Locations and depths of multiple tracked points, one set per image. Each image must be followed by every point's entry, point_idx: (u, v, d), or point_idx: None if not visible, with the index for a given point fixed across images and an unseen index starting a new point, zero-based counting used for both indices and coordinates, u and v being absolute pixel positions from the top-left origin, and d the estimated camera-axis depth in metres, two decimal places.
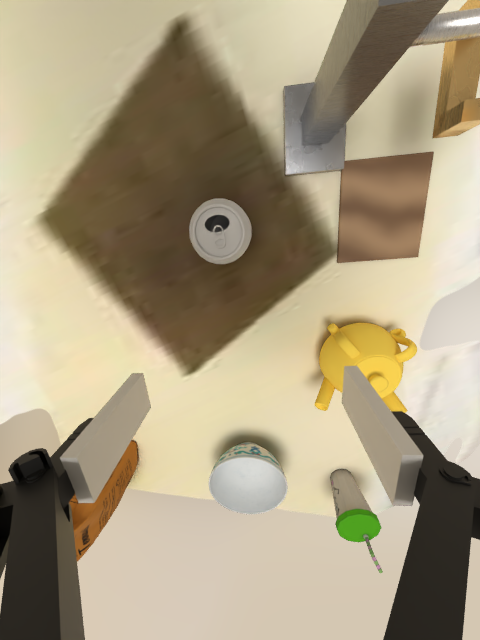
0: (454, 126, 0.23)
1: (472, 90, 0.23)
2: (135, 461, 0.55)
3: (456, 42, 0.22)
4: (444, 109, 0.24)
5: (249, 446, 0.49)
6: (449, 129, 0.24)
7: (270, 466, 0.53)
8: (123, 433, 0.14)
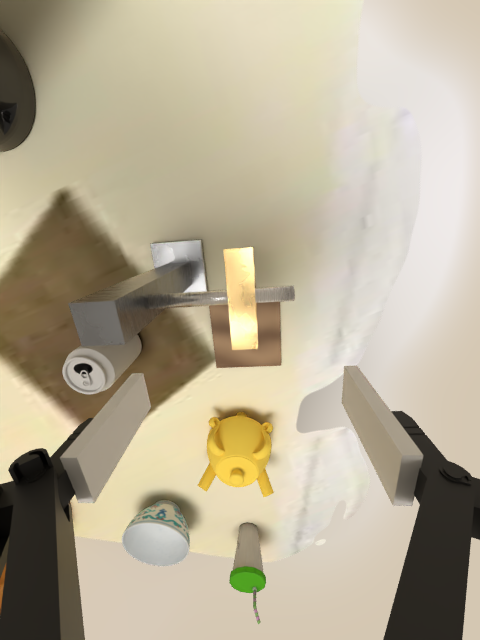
0: None
1: None
2: None
3: None
4: None
5: (158, 509, 0.56)
6: None
7: None
8: (123, 433, 0.14)
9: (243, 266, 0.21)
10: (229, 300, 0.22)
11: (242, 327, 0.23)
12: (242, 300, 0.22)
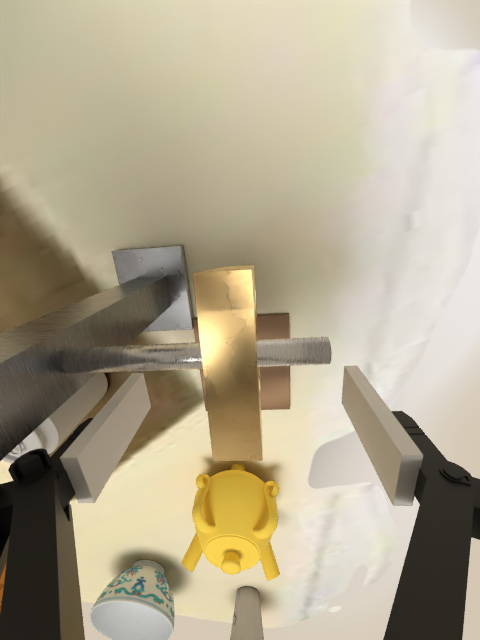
0: None
1: None
2: None
3: None
4: None
5: (135, 578, 0.45)
6: None
7: None
8: (123, 433, 0.14)
9: (233, 307, 0.10)
10: (206, 371, 0.11)
11: (232, 421, 0.12)
12: (232, 372, 0.11)
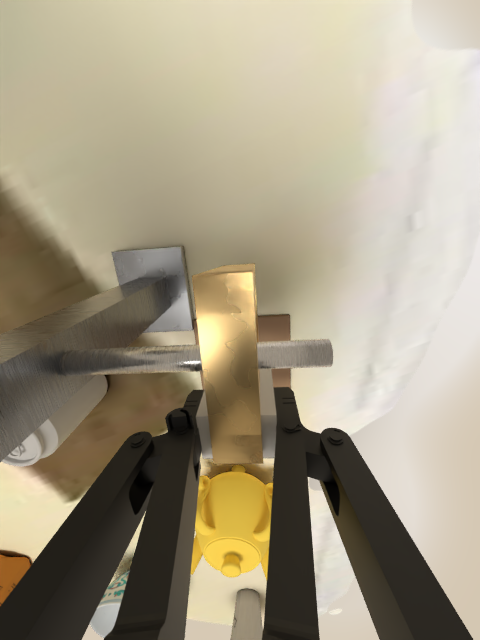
0: None
1: None
2: None
3: None
4: None
5: None
6: None
7: None
8: None
9: (233, 310, 0.10)
10: (206, 375, 0.11)
11: (232, 425, 0.12)
12: (232, 376, 0.11)
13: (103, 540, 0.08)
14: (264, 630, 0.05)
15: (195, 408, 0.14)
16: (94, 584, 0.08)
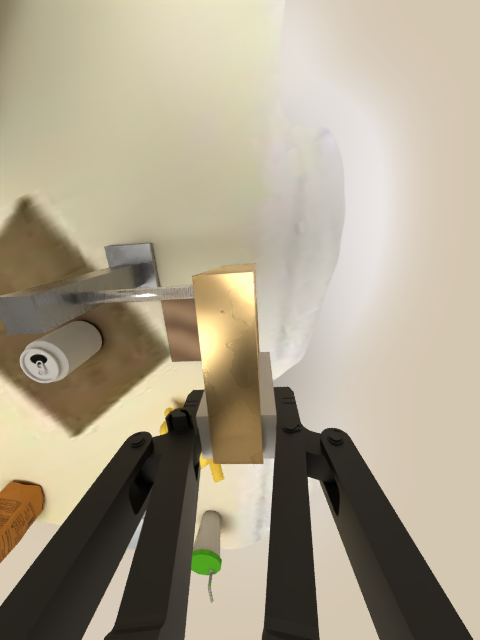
0: None
1: None
2: (39, 502, 0.66)
3: None
4: None
5: None
6: None
7: None
8: None
9: (234, 311, 0.10)
10: (206, 375, 0.11)
11: (233, 425, 0.12)
12: (232, 376, 0.11)
13: (103, 540, 0.08)
14: (264, 630, 0.05)
15: (195, 408, 0.14)
16: (94, 584, 0.08)
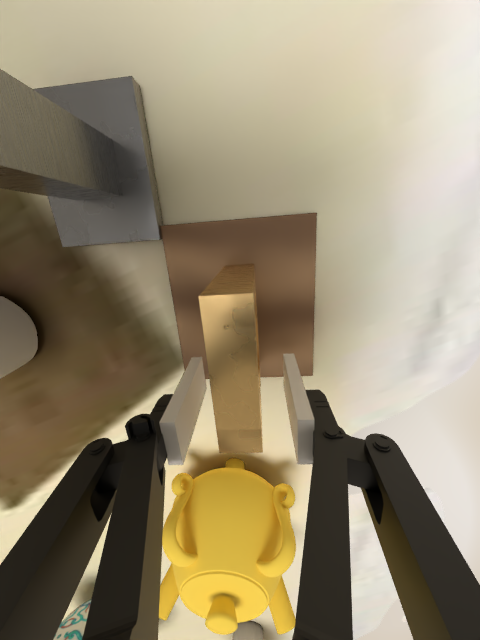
0: None
1: None
2: None
3: None
4: None
5: None
6: None
7: None
8: (194, 408, 0.15)
9: (236, 326, 0.11)
10: (212, 380, 0.12)
11: (236, 421, 0.13)
12: (235, 381, 0.12)
13: (65, 549, 0.08)
14: (294, 634, 0.05)
15: (163, 413, 0.14)
16: (57, 595, 0.08)
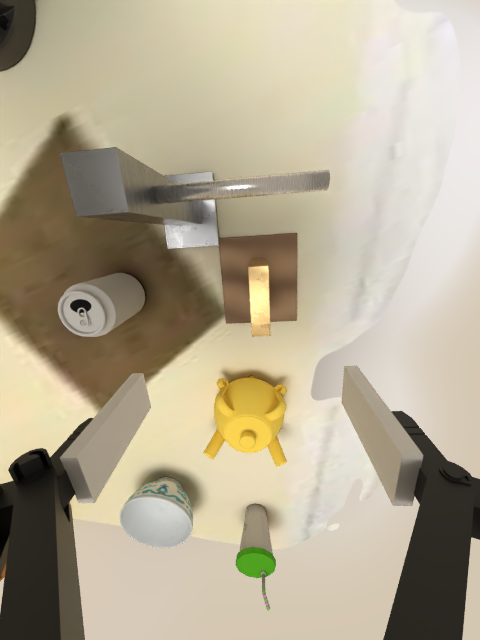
0: None
1: None
2: None
3: None
4: None
5: (159, 484, 0.52)
6: None
7: None
8: (123, 433, 0.14)
9: (261, 278, 0.30)
10: (251, 302, 0.31)
11: (259, 320, 0.32)
12: (260, 302, 0.31)
13: None
14: None
15: None
16: None
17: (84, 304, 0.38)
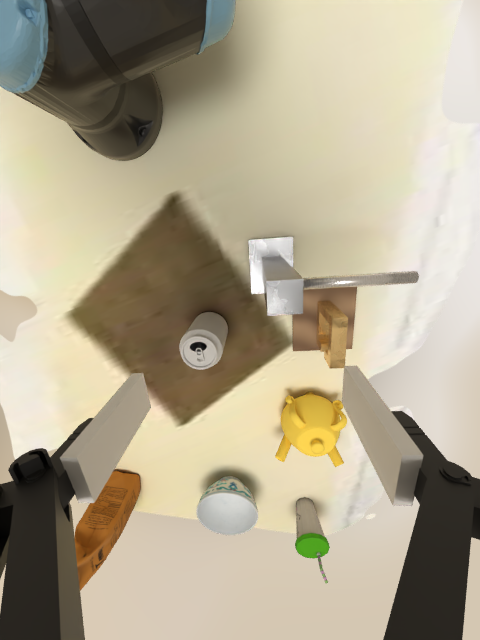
0: None
1: (329, 332, 0.49)
2: (138, 490, 0.68)
3: (319, 314, 0.48)
4: (318, 337, 0.50)
5: (228, 482, 0.62)
6: None
7: None
8: (123, 433, 0.14)
9: (342, 326, 0.40)
10: (332, 343, 0.41)
11: (337, 356, 0.42)
12: (339, 343, 0.41)
13: None
14: None
15: None
16: None
17: None
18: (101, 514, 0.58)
